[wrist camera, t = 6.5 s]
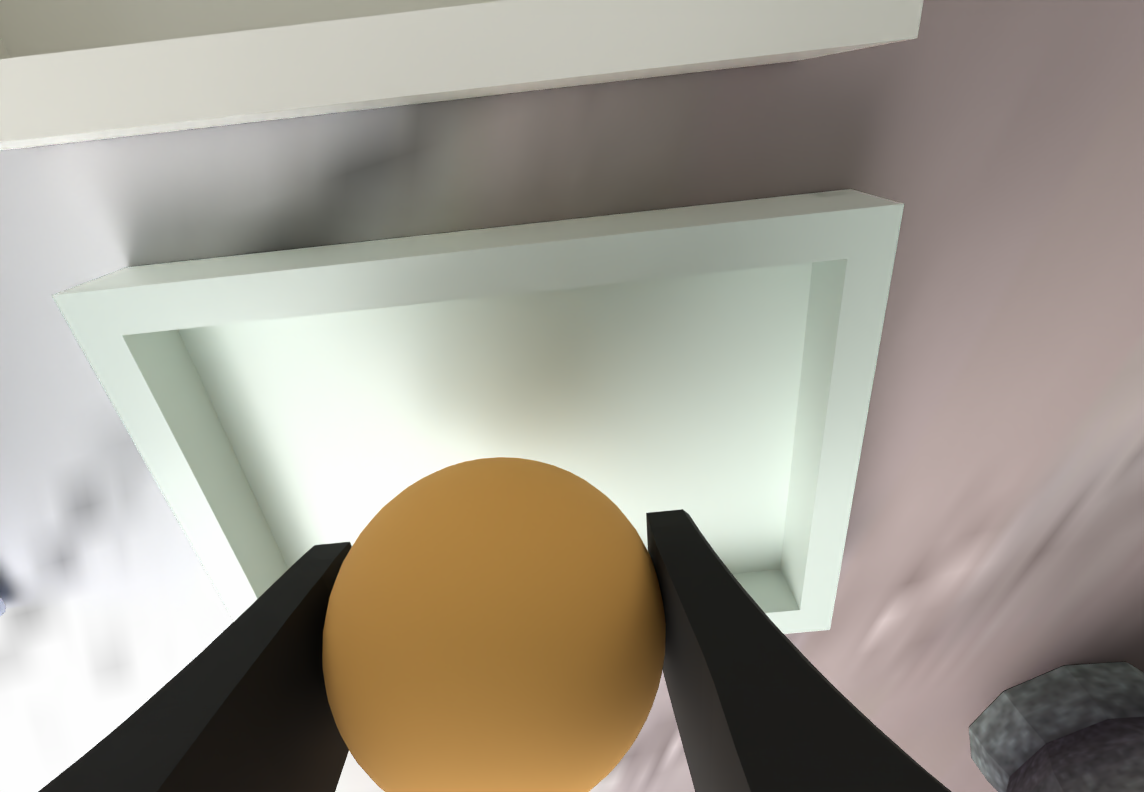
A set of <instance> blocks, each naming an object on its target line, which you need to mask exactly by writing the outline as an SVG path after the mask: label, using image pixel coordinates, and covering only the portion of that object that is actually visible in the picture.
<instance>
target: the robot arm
mask: <svg viewBox="0 0 1144 792" xmlns="http://www.w3.org/2000/svg"><path fill="white" fill-rule="evenodd" d="M646 522H647V543H648V552H649V554H650V556H651V559H652V562H653V565H654V568H655V571H656V574H657V578H658V582H659V586H660V591H661V595H662V600H663V606H664V613H665V622H666V637H665V657H664V663H663V668H662V669H663V673H664V677H665V681H666V684H667V688H668V692H669V696H670V699H671V703H672V707H673V711H674V714H675V718H676V722H677V726H678V729H679V733H680V737H681V740H682V744H683V748H684V752H685V755H686V759H687V763H688V766H689V770H690V774H691V777H692V781H693V785H694V789H695V792H951V791H950V790H949V789H948V788H946V787H945V786H944V785H943V784H942V783H940V782H939V781H938V780H937V779H935V778H934V777H933V776H932V775H931V774H929V773H928V772H927V771H926V770H925V769H923V768H922V767H921V766H920V765H919V764H918V763H917V762H915V761H914V760H913V759H912V758H911V757H910V756H909V755H908V754H906V753H905V752H904V751H903V750H902V749H901V748H900V747H899V746H898V745H896V744H895V743H894V742H893V741H892V740H891V739H890V738H889V737H887V736H886V735H885V734H884V733H883V732H882V731H881V730H880V729H878V728H877V727H876V726H875V725H874V724H873V723H872V722H871V721H870V720H869V719H868V718H867V717H866V716H865V715H863V714H862V713H861V712H860V711H859V710H858V709H857V708H856V707H855V706H854V705H853V704H852V703H851V702H850V701H849V700H848V699H846V698H845V697H844V696H843V695H842V694H841V693H840V692H839V691H838V690H837V689H836V688H835V687H834V686H833V685H832V684H831V683H830V682H829V681H828V680H827V679H826V678H825V677H824V676H823V675H822V674H821V673H820V672H819V671H818V670H817V669H816V668H815V667H814V666H813V665H812V664H811V663H810V662H809V661H808V659H807V658H806V657H805V656H804V655H803V654H802V653H801V652H800V651H799V650H798V649H797V648H796V647H795V646H794V645H793V644H792V643H791V641H790V640H789V639H788V638H787V637H786V636H785V635H784V634H783V633H782V632H781V631H780V630H779V628H778V627H777V626H776V625H775V624H774V623H773V622H772V621H771V619H770V618H769V617H768V616H767V615H766V614H765V613H764V611H763V610H762V609H761V608H760V607H759V606H758V604H757V603H756V602H755V601H754V600H753V598H752V597H751V596H750V595H749V594H748V593H747V591H746V590H745V589H744V588H743V587H742V585H741V584H740V583H739V582H738V581H737V579H736V578H735V577H734V576H733V574H732V573H731V572H730V571H729V569H728V568H727V567H726V565H725V564H724V563H723V561H722V560H721V559H720V558H719V556H718V555H717V554H716V552H715V551H714V550H713V548H712V547H711V546H710V544H709V543H708V541H707V540H706V539H705V537H704V536H703V534H702V533H701V531H700V530H699V529H698V527H697V526H696V524H695V523H694V521H693V519H692V518H691V516H690V515H689V514H688V513H687V512H686V511H684V510H683V509H681V510H671V511H660V512H650V513H646ZM351 547H352V545H351V543H350V542H341V543H331V544H320V545H314V546H313V547H312V548H311V549H310V550H308V551H307V552H306V553H305V554H304V555H303V556H302V557H301V558H300V559H298V560H297V561H296V562H295V563H294V564H293V565H292V566H291V567H290V568H289V569H288V570H287V571H286V572H285V573H284V574H283V575H282V576H281V577H280V578H279V579H278V580H277V581H276V582H274V583H273V584H272V585H271V586H270V587H269V588H268V589H267V590H266V591H265V592H264V593H263V594H262V595H261V596H260V597H259V598H258V599H257V600H256V601H255V602H254V603H253V604H252V605H251V606H250V607H249V608H248V609H247V610H246V611H245V612H243V613H242V614H241V615H240V616H239V617H238V618H237V619H236V620H235V621H234V622H233V623H232V624H231V625H230V626H229V627H228V628H227V629H226V630H225V631H224V632H223V633H221V634H220V635H219V636H218V637H217V638H216V639H215V640H214V641H213V642H212V643H211V644H210V645H209V646H208V647H207V648H206V649H205V650H204V651H203V652H202V653H200V654H199V655H198V656H197V657H196V658H195V659H194V660H193V661H192V662H190V663H189V664H188V665H187V666H186V667H185V668H184V669H183V670H182V671H180V672H179V673H178V674H177V675H176V676H175V677H174V678H173V679H171V680H170V681H169V682H168V683H167V684H166V685H165V686H164V687H163V688H161V689H160V690H159V691H158V692H157V693H156V694H155V695H154V696H153V697H151V698H150V699H149V700H148V701H147V702H146V703H145V704H144V705H142V706H141V707H140V708H139V709H138V710H137V711H136V712H135V713H134V714H132V715H131V716H130V717H129V718H128V719H127V720H126V721H124V722H123V723H122V724H121V725H120V726H118V727H117V728H116V729H115V730H114V731H113V732H111V733H110V734H109V735H108V736H107V737H105V738H104V739H103V740H102V741H101V742H99V743H98V744H97V745H96V746H95V747H93V748H92V749H91V750H90V751H89V752H87V753H86V754H85V755H84V756H83V757H81V758H80V759H79V760H78V761H76V762H75V763H74V764H73V765H71V766H70V767H69V768H67V769H66V770H65V771H64V772H62V773H61V774H60V775H59V776H57V777H56V778H55V779H54V780H52V781H51V782H50V783H49V784H47V785H46V786H45V787H44V788H42V789H41V790H40V791H39V792H335V790H336V787H337V784H338V781H339V778H340V775H341V772H342V769H343V766H344V763H345V760H346V757H347V754H348V751H349V749H348V747H347V745H346V744H345V742H344V740H343V738H342V736H341V735H340V732H339V730H338V728H337V725H336V723H335V720H334V717H333V714H332V711H331V708H330V705H329V702H328V698H327V693H326V688H325V681H324V674H323V661H322V652H323V629H324V623H325V618H326V612H327V607H328V603H329V598H330V594H331V592H332V589H333V586H334V583H335V580H336V578H337V575H338V573H339V571H340V568H341V566H342V563H343V561H344V560H345V558H346V556H347V554H348V553H349V551H350V549H351ZM5 609H6V606H5V604H4V602H3V600H2V599H1V598H0V616H1V615H2V614H3V613H4V612H5Z"/></svg>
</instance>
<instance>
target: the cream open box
mask: <svg viewBox="0 0 1144 792" xmlns="http://www.w3.org/2000/svg"><path fill="white" fill-rule="evenodd" d="M922 7H923V0H0V150H9V149H22V148H31V147H40V146H49V145H58V144H66V143H75V142H84V141H93V140H102V139H111V138H119V137H128V136H137V135H146V134H155V133H164V132H173V131H181V130H190V129H199V128H208V127H217V126H226V125H234V124H243V123H252V122H261V121H270V120H279V119H288V118H296V117H305V116H314V115H323V114H332V113H341V112H350V111H358V110H367V109H376V108H385V107H394V106H403V105H411V104H420V103H429V102H438V101H447V100H456V99H465V98H473V97H482V96H491V95H500V94H509V93H518V92H526V91H535V90H544V89H553V88H562V87H571V86H580V85H588V84H597V83H606V82H615V81H624V80H633V79H641V78H650V77H659V76H668V75H677V74H686V73H695V72H703V71H712V70H721V69H730V68H739V67H748V66H756V65H765V64H774V63H783V62H792V61H799V60H805V59H810V58H815V57H821V56H826V55H831V54H837V53H842V52H847V51H852V50H858V49H863V48H868V47H874V46H879V45H884V44H890V43H895V42H900V41H905V40H911V39H916V38H917V37H918V31H919V25H920V19H921V13H922Z"/></svg>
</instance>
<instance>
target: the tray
mask: <svg viewBox="0 0 1144 792" xmlns="http://www.w3.org/2000/svg"><path fill="white" fill-rule="evenodd" d="M903 208H904V204H903V203H900V202H896V201H892V200H889V199H885V198H881V197H878V196H874V195H871V194H867V193H863V192H860V191H856V190H853V189H846V190H836V191H827V192H818V193H809V194H799V195H790V196H781V197H772V198H762V199H753V200H744V201H735V202H725V203H716V204H707V205H698V206H688V207H679V208H670V209H661V210H651V211H642V212H633V213H624V214H614V215H605V216H596V217H587V218H577V219H568V220H559V221H550V222H540V223H531V224H522V225H513V226H503V227H494V228H485V229H476V230H466V231H457V232H448V233H439V234H429V235H420V236H411V237H402V238H392V239H383V240H374V241H365V242H355V243H346V244H337V245H328V246H318V247H309V248H300V249H291V250H281V251H272V252H263V253H254V254H244V255H235V256H226V257H217V258H207V259H198V260H189V261H180V262H170V263H161V264H152V265H143V266H133V267H126V268H123V269H120V270H118V271H115V272H112V273H110V274H107V275H104V276H102V277H99V278H96V279H94V280H91V281H88V282H86V283H83V284H80V285H78V286H75V287H72V288H70V289H67V290H64V291H62V292H59V293H56V294H54V295H52V297H53V299H54V301H55V303H56V304H57V306H58V308H59V310H60V312H61V313H62V315H63V317H64V319H65V321H66V322H67V324H68V326H69V328H70V329H71V331H72V333H73V335H74V337H75V338H76V340H77V342H78V344H79V346H80V347H81V349H82V351H83V353H84V355H85V356H86V358H87V360H88V362H89V363H90V365H91V367H92V369H93V371H94V372H95V374H96V376H97V378H98V380H99V381H100V383H101V385H102V387H103V389H104V390H105V392H106V394H107V396H108V397H109V399H110V401H111V403H112V405H113V406H114V408H115V410H116V412H117V414H118V415H119V417H120V419H121V421H122V423H123V424H124V426H125V428H126V430H127V432H128V433H129V435H130V437H131V439H132V440H133V442H134V444H135V446H136V448H137V449H138V451H139V453H140V455H141V457H142V458H143V460H144V462H145V464H146V466H147V467H148V469H149V471H150V473H151V474H152V476H153V478H154V480H155V482H156V483H157V485H158V487H159V489H160V491H161V492H162V494H163V496H164V498H165V500H166V501H167V503H168V505H169V507H170V508H171V510H172V512H173V514H174V516H175V517H176V519H177V521H178V523H179V525H180V526H181V528H182V530H183V532H184V534H185V535H186V537H187V539H188V541H189V543H190V544H191V546H192V548H193V550H194V551H195V553H196V555H197V557H198V559H199V560H200V562H201V564H202V566H203V568H204V569H205V571H206V573H207V575H208V577H209V578H210V580H211V582H212V584H213V585H214V587H215V589H216V591H217V593H218V594H219V596H220V598H221V600H222V602H223V603H224V605H225V607H226V609H227V611H228V612H229V614H230V616H231V618H232V619H233V621H235V620H236V619H237V618H238V617H239V616H240V615H241V614H242V613H243V612H245V611H246V610H247V609H248V608H249V607H250V606H251V605H252V604H253V603H254V602H255V601H256V600H257V599H258V598H259V597H260V596H261V595H262V594H263V593H264V592H265V591H266V590H267V589H268V588H269V587H270V586H271V585H272V584H273V583H274V582H276V581H277V580H278V579H279V578H280V577H281V576H282V575H283V574H284V573H285V572H286V571H287V570H288V569H289V568H290V567H291V566H292V565H293V564H294V563H295V562H296V561H297V560H298V559H300V558H301V557H302V556H303V555H304V554H305V553H306V552H307V551H308V550H310V549H311V548H312V547H313V546H314V545H320V544H331V543H341V542H350V543H351V545H352V546H353V544H354V543H355V541H356V539H357V538H358V536H359V535H360V533H361V532H362V531H363V529H364V528H365V527H366V526H367V525H368V523H369V522H370V521H371V520H372V519H373V518H374V516H375V515H376V514H377V513H378V512H379V511H380V510H381V509H382V508H383V507H384V506H385V505H386V504H387V503H389V502H390V501H391V500H392V499H393V498H395V497H396V496H397V495H398V494H400V493H401V492H402V491H403V490H405V489H406V488H407V487H409V486H410V485H412V484H414V483H415V482H417V481H419V480H420V479H422V478H424V477H426V476H428V475H430V474H432V473H434V472H436V471H439V470H441V469H443V468H446V467H448V466H451V465H455V464H458V463H461V462H465V461H471V460H476V459H482V458H496V457H510V458H522V459H529V460H535V461H539V462H543V463H547V464H550V465H554V466H556V467H559V468H562V469H564V470H567V471H569V472H571V473H573V474H575V475H577V476H579V477H580V478H582V479H584V480H586V481H587V482H588V483H590V484H591V485H593V486H594V487H595V488H597V489H598V490H600V491H601V492H602V493H603V494H605V495H606V496H607V497H608V498H609V499H610V500H611V501H612V502H613V503H614V504H616V505H617V506H618V508H619V509H620V510H621V511H622V513H623V514H624V515H625V516H626V517H627V519H628V520H629V521H630V523H631V524H632V525H633V526H634V528H635V529H636V531H637V532H638V534H639V536H640V538H641V539H642V541H643V543H644V545H645V547H646V549H647V551H648V543H647V522H646V513H650V512H660V511H671V510H681V509H683V510H684V511H686V512H687V513H688V514H689V515H690V516H691V518H692V519H693V521H694V523H695V524H696V526H697V527H698V529H699V530H700V531H701V533H702V534H703V536H704V537H705V539H706V540H707V541H708V543H709V544H710V546H711V547H712V548H713V550H714V551H715V552H716V554H717V555H718V556H719V558H720V559H721V560H722V561H723V563H724V564H725V565H726V567H727V568H728V569H729V571H730V572H731V573H732V574H733V576H734V577H735V578H736V579H737V581H738V582H739V583H740V584H741V585H742V587H743V588H744V589H745V590H746V591H747V593H748V594H749V595H750V596H751V597H752V598H753V600H754V601H755V602H756V603H757V604H758V606H759V607H760V608H761V609H762V610H763V611H764V613H765V614H766V615H767V616H768V617H769V618H770V619H771V621H772V622H773V623H774V624H775V625H776V626H777V627H778V628H779V630H780V631H781V632H782V633H783V634H789V633H800V632H811V631H822V630H830V626H831V620H832V615H833V609H834V603H835V597H836V592H837V586H838V580H839V575H840V569H841V563H842V557H843V552H844V546H845V540H846V534H847V529H848V523H849V517H850V512H851V506H852V500H853V494H854V489H855V483H856V477H857V472H858V466H859V460H860V454H861V449H862V443H863V437H864V431H865V426H866V420H867V414H868V409H869V403H870V397H871V391H872V386H873V380H874V374H875V368H876V363H877V357H878V351H879V346H880V340H881V334H882V328H883V323H884V317H885V311H886V306H887V300H888V294H889V288H890V283H891V277H892V271H893V265H894V260H895V254H896V248H897V243H898V237H899V231H900V225H901V220H902V214H903Z"/></svg>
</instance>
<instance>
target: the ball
mask: <svg viewBox="0 0 1144 792" xmlns="http://www.w3.org/2000/svg"><path fill="white" fill-rule="evenodd" d="M665 637H666V622H665V613H664V606H663V600H662V595H661V591H660V586H659V582H658V578H657V574H656V571H655V568H654V565H653V562H652V559H651V556H650V554H649V552H648V551H647V549H646V547H645V545H644V543H643V541H642V539H641V538H640V536H639V534H638V532H637V531H636V529H635V528H634V526H633V525H632V524H631V523H630V521H629V520H628V519H627V517H626V516H625V515H624V514H623V513H622V511H621V510H620V509H619V508H618V506H617V505H616V504H614V503H613V502H612V501H611V500H610V499H609V498H608V497H607V496H606V495H605V494H603V493H602V492H601V491H600V490H598V489H597V488H595V487H594V486H593V485H591V484H590V483H588V482H587V481H586V480H584V479H582V478H580V477H579V476H577V475H575V474H573V473H571V472H569V471H567V470H564V469H562V468H559V467H556V466H554V465H550V464H547V463H543V462H539V461H535V460H529V459H522V458H510V457H496V458H482V459H476V460H471V461H465V462H461V463H458V464H455V465H451V466H448V467H446V468H443V469H441V470H439V471H436V472H434V473H432V474H430V475H428V476H426V477H424V478H422V479H420V480H419V481H417V482H415V483H414V484H412V485H410V486H409V487H407V488H406V489H405V490H403V491H402V492H401V493H400V494H398V495H397V496H396V497H395V498H393V499H392V500H391V501H390V502H389V503H387V504H386V505H385V506H384V507H383V508H382V509H381V510H380V511H379V512H378V513H377V514H376V515H375V516H374V518H373V519H372V520H371V521H370V522H369V523H368V525H367V526H366V527H365V528H364V529H363V531H362V532H361V533H360V535H359V536H358V538H357V539H356V541H355V543H354V544H353V546H352V547H351V549H350V551H349V553H348V554H347V556H346V558H345V560H344V561H343V563H342V566H341V568H340V571H339V573H338V575H337V578H336V580H335V583H334V586H333V589H332V592H331V594H330V598H329V603H328V607H327V612H326V618H325V623H324V629H323V652H322V661H323V674H324V681H325V688H326V693H327V698H328V702H329V705H330V708H331V711H332V714H333V717H334V720H335V723H336V725H337V728H338V730H339V732H340V735H341V736H342V738H343V740H344V742H345V744H346V745H347V747H348V749H349V751H350V752H351V754H352V755H353V757H354V758H355V760H356V761H357V763H358V764H359V765H360V766H361V767H362V769H363V770H364V771H365V772H366V773H367V774H368V775H369V777H370V778H371V779H372V780H373V781H374V782H375V783H376V784H377V785H378V786H379V787H380V788H381V789H382V790H384V791H385V792H589V791H590V790H591V789H592V788H593V787H595V786H596V785H597V784H598V783H599V782H600V781H601V780H602V779H604V778H605V777H606V776H607V775H608V774H609V773H610V772H611V771H612V770H613V769H614V768H615V766H616V765H617V764H618V763H619V762H620V760H621V759H622V758H623V756H624V755H625V754H626V753H627V751H628V750H629V749H630V747H631V746H632V744H633V743H634V741H635V740H636V738H637V736H638V734H639V732H640V731H641V729H642V727H643V725H644V723H645V721H646V719H647V717H648V715H649V712H650V710H651V708H652V705H653V702H654V699H655V696H656V693H657V690H658V687H659V683H660V678H661V674H662V668H663V663H664V657H665Z"/></svg>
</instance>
